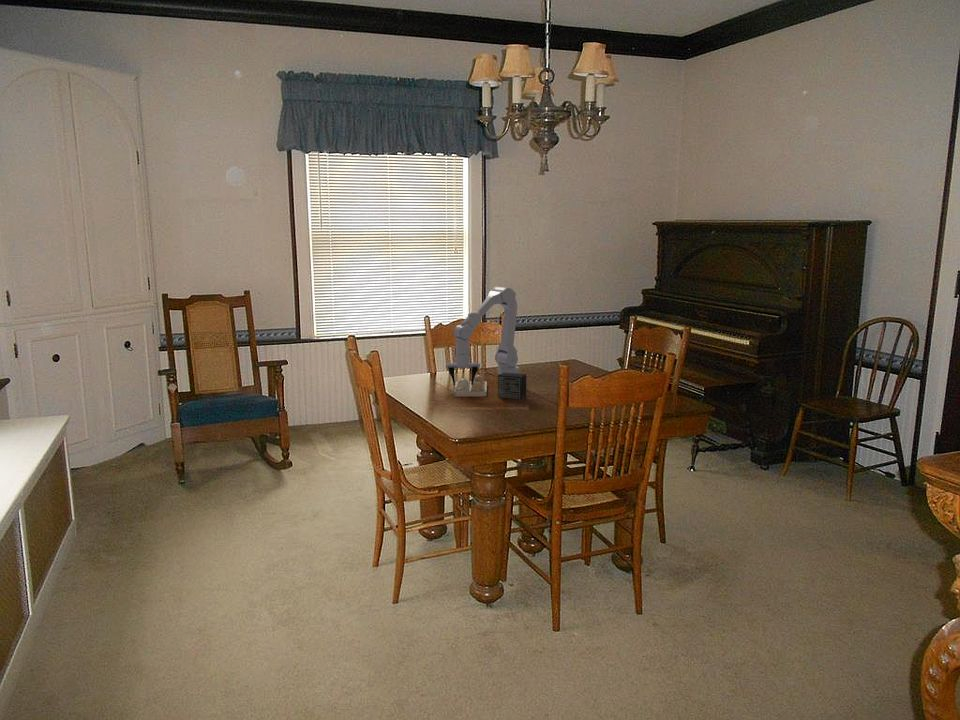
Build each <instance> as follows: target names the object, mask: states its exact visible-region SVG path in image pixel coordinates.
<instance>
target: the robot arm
mask: <svg viewBox="0 0 960 720" xmlns="http://www.w3.org/2000/svg"><path fill="white" fill-rule="evenodd" d="M516 295H517V294H516V292H515V290H513V289H512V288H510V287H502V286H494V287H493V288H492V289H491V290H490V291H489V292H488V295H487V297H486V298H485V299H484V301H483V302H482V303H481V304H480V305H479V307H478V308H477V309H476V311H471V312H469V313H468V314H467V317H465V319H464V320H463V321H461V322H460V324H458V325H456V326H455V327H454V329H453V331H452V335H453V336H454V338H455V361H456V362H450V363H445V369H446V370H448V372H449V374H450V377H451V381H452V383H453V384H452V385H453V386H455V384H456V379H455V369H471V377H470V378H471V380H470V381H471V385H473V382H474V378H475V376H477V374H478V373H477V372H478V369H481V363H480V362H470V360H471V358H470V355H471V354H470V339H471V338H472V335H473V332H474V330H476V328H477V326H479V324H480V323H482V320H483V319H482V317H483V316H485V314H486V313H487V312H488V311H489V310H490V309H492V307H493V306H494V305H501V307H502V308H503V310H504V311H503V312H504V313H503V320H502V330H501V331H502V333H501V342H500V345H499V346H498V347H497V350H496V353H495V355H494V356H495V357H494V360H495V362H496V363H497V366H498V369H497V370H498V371H497V372H498V374H497V376H498V375H499V374H501V373H504V372H505V373H517V374H520V367H519V366H517V364H518V362H519V358H518V350H517V348H516V347H515V344H514V343H515V334H516V333H515V332H516V324H517V313H518V302H517V299H516Z"/></svg>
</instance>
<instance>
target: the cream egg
mask: <svg viewBox="0 0 960 720" xmlns="http://www.w3.org/2000/svg"><path fill="white" fill-rule="evenodd" d="M458 381H459V383H458V384H459V388H468V381H469V380H468V379H466V378H460V379H459V380H458Z"/></svg>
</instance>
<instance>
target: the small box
mask: <svg viewBox="0 0 960 720" xmlns="http://www.w3.org/2000/svg"><path fill="white" fill-rule="evenodd" d="M497 397H498V398H504V399H510V400H511V399H512V400H513V399H514V400H523V399H524V398H526V397H527V374H525V373H519V374H517V373H505V372H504V373H501V374H499V375H498V374H497Z"/></svg>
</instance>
